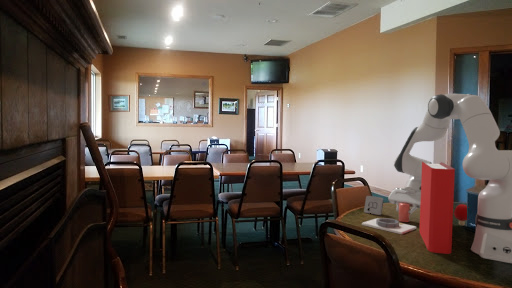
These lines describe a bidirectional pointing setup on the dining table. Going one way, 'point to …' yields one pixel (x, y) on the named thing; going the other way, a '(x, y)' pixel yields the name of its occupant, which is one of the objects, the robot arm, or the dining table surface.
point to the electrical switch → (373, 205)
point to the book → (437, 207)
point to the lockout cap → (404, 212)
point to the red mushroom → (461, 213)
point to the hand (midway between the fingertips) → (403, 211)
